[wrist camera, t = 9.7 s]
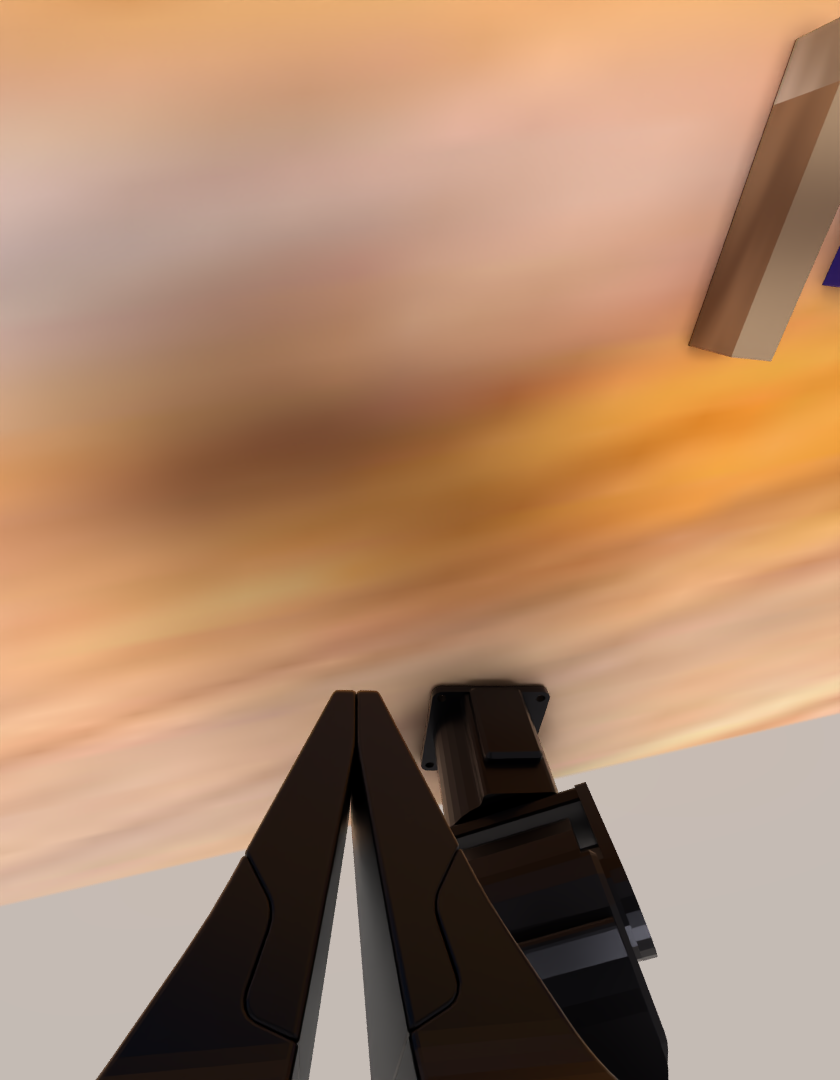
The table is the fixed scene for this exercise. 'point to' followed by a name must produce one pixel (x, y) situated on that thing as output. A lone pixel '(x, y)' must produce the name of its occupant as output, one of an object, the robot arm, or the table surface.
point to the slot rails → (780, 208)
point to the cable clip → (834, 272)
